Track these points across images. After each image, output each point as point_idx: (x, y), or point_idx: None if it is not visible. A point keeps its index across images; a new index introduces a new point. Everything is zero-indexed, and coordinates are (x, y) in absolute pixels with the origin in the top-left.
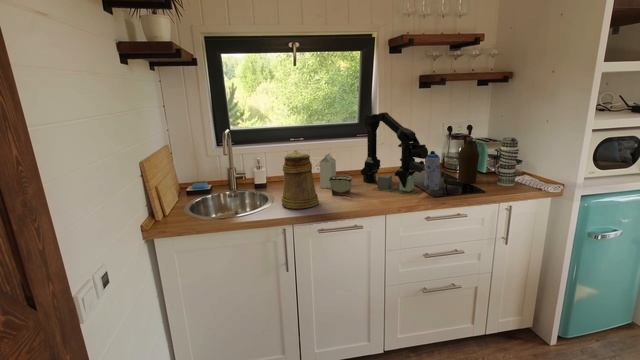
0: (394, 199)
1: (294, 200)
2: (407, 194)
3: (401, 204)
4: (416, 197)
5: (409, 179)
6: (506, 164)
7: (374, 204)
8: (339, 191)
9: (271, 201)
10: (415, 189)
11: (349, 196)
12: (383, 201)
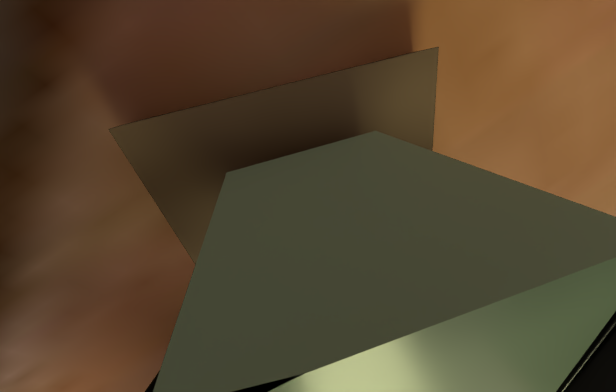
0: (493, 163)
1: None
2: (426, 115)
3: (612, 27)
4: (361, 19)
5: (583, 238)
6: None
7: (608, 189)
8: None
9: None
10: (184, 166)
11: None
12: (549, 189)
